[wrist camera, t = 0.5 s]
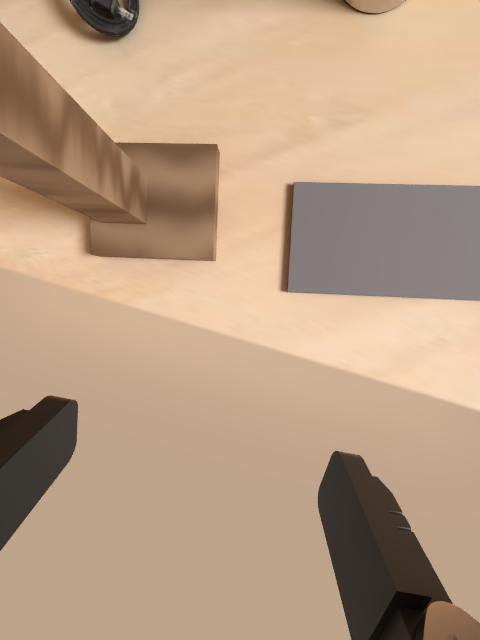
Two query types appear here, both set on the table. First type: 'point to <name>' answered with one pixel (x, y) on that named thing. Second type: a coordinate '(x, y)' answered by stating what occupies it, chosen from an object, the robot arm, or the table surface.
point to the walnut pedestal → (104, 169)
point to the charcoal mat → (385, 240)
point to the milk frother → (108, 15)
